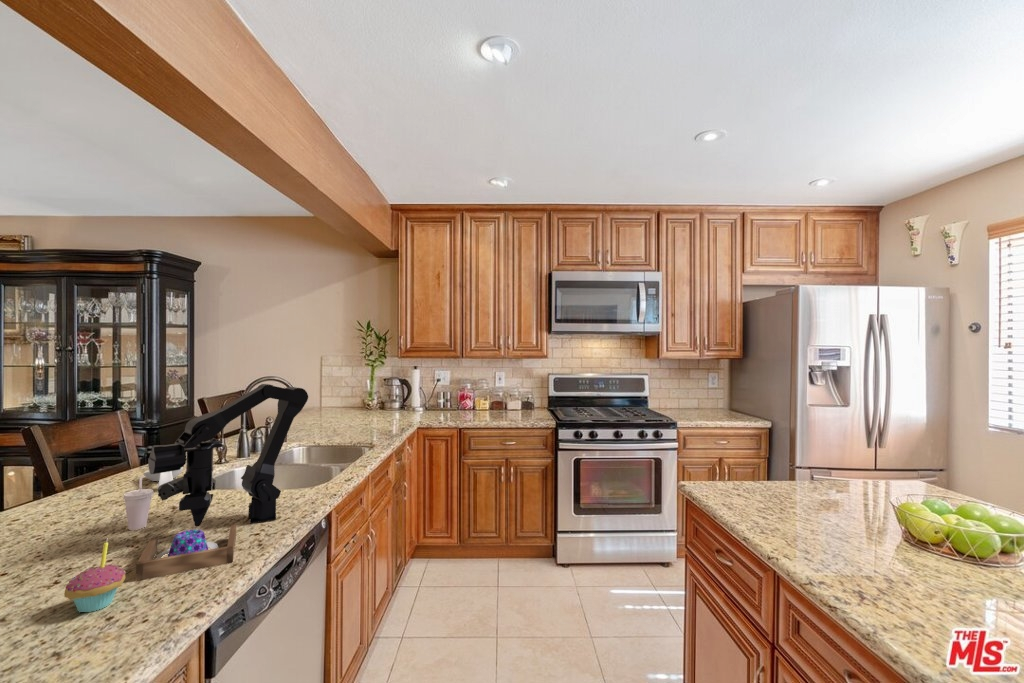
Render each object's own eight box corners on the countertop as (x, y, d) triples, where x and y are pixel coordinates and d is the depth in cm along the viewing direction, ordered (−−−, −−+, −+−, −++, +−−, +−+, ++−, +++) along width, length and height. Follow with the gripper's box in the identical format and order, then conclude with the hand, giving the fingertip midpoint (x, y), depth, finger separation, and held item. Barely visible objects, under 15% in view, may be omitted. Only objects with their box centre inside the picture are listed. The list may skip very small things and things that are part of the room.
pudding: (183, 570, 98) (184, 547, 98) (142, 563, 101) (143, 540, 101) (230, 548, 110) (230, 526, 110) (192, 542, 113) (192, 521, 113)
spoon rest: (142, 479, 165) (143, 460, 165) (181, 473, 173) (182, 455, 173) (144, 495, 147) (145, 473, 147) (188, 488, 155) (188, 468, 155)
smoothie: (134, 533, 116) (136, 480, 117) (115, 531, 118) (117, 478, 118) (158, 524, 123) (160, 474, 123) (139, 522, 124) (141, 472, 124)
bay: (235, 538, 115) (236, 524, 115) (232, 562, 101) (233, 547, 102) (150, 552, 106) (151, 537, 106) (135, 581, 93) (135, 564, 93)
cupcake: (91, 594, 88) (93, 533, 88) (136, 593, 88) (138, 533, 89) (50, 620, 79) (52, 553, 79) (100, 619, 80) (102, 552, 80)
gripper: (167, 461, 120) (165, 519, 119) (153, 479, 103) (151, 546, 103) (216, 457, 125) (215, 512, 125) (210, 473, 109) (208, 536, 109)
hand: (197, 525), depth 115 cm, fingers closed
